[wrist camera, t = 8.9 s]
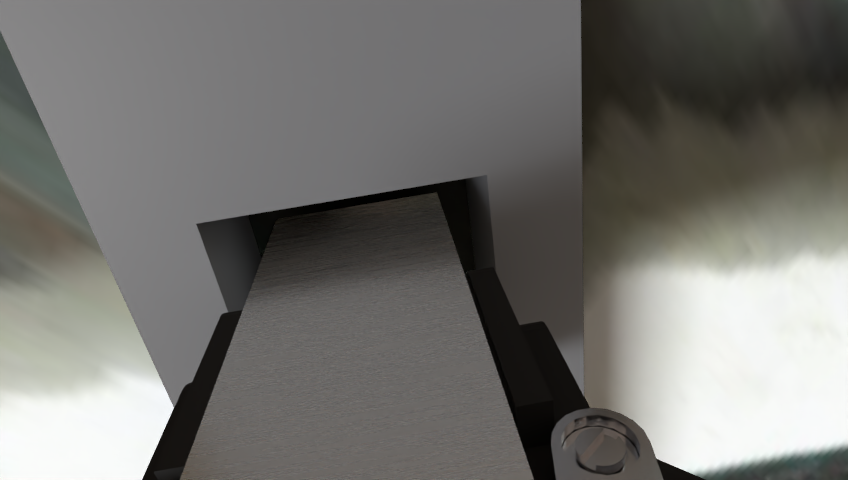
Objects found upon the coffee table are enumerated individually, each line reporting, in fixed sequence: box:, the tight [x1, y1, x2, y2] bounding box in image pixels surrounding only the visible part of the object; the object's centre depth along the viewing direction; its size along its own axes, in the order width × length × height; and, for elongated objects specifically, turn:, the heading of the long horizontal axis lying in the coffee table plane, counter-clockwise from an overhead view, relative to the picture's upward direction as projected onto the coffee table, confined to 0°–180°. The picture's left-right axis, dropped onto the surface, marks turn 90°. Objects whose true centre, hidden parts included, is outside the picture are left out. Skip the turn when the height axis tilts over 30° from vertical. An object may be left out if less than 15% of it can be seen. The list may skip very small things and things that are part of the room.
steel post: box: [180, 192, 534, 480], centre depth 10 cm, size 4×4×10 cm
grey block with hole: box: [0, 0, 584, 407], centre depth 14 cm, size 10×24×4 cm, turn 8°
